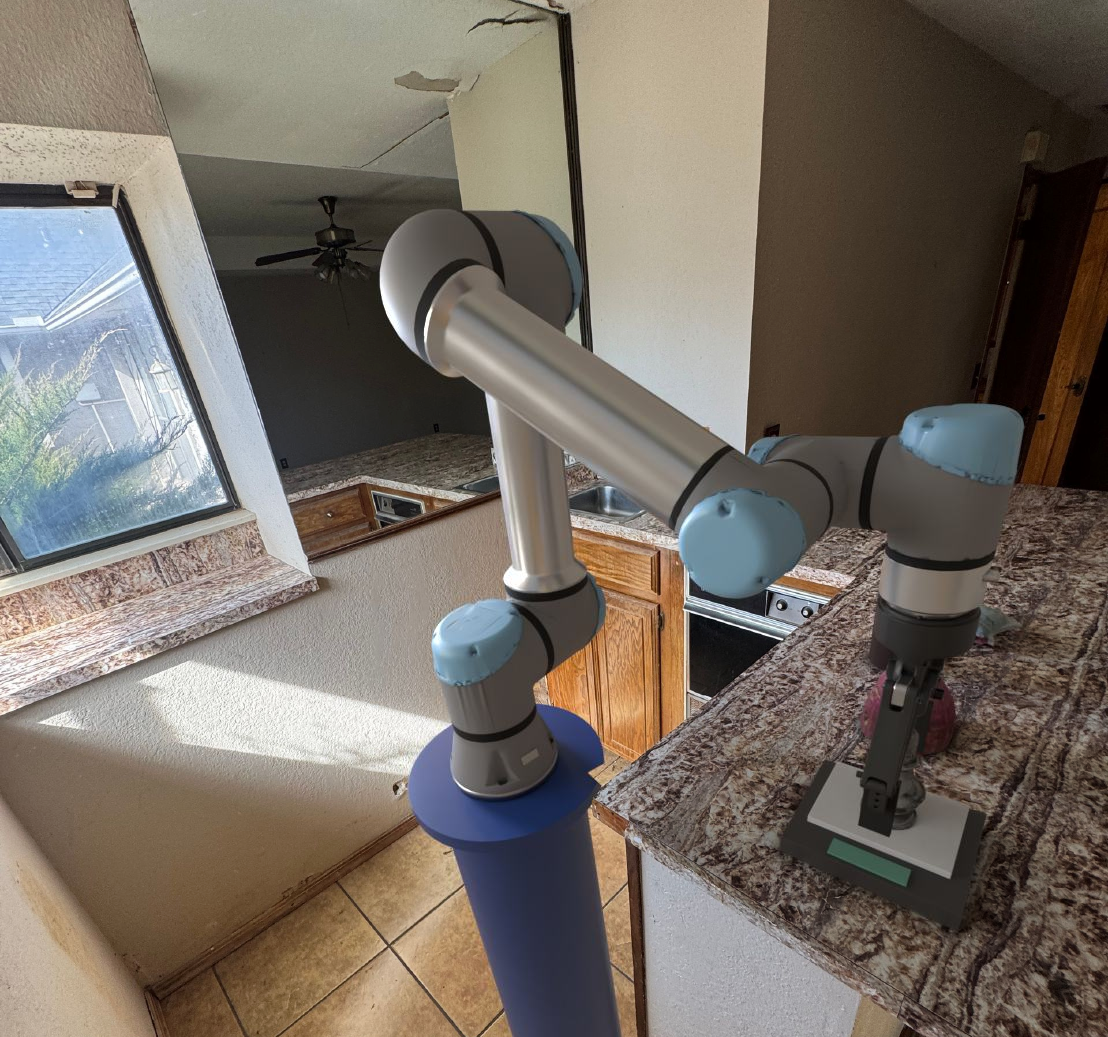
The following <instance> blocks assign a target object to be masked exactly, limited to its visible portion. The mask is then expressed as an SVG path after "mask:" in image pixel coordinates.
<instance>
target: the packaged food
mask: <svg viewBox="0 0 1108 1037" xmlns="http://www.w3.org/2000/svg"><path fill="white" fill-rule="evenodd" d="M979 607H980V609H981V616H980V620H979V624H978V628H977V632H976V637H975V641H974V644H979V645H984V644H989V645H991V646H993V647H994V645H995V637H994V636H997V635H998V634H1001V633H1004V632H1006V631H1009V630H1013V629H1014V628H1017V629H1019V628H1023V624H1022V623H1021V622H1020V621H1017V619H1015V618H1014V617H1012V616H1007V615H1006V613H1005V612H1004V611H1001V610H999V609H996V608H993V607H991V606H987V605H983V604H981V605H980V606H979Z"/></svg>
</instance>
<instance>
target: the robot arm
mask: <svg viewBox="0 0 1108 1037" xmlns="http://www.w3.org/2000/svg"><path fill="white" fill-rule="evenodd" d="M581 268H582V267H581V264H580V260H579V256H578V254H577V252H576V250H575V246H574V245H573V243H572V241H571V239H570V238H569V237H568V235H567V234H566V232H565V231H563V230H562V229H561V228H560V226H558V224H557V223H556V222H554V221H553V220H551V219H549V218H548V217H546V216H543V215H540V214H535V213H528V212H527V211H523V210H519V209H513V210H481V209H480V210H478V209H477V210H473V209H472V210H470V209H468V210H465V209H464V210H463V209H451V208H433V209H429V210H425V211H422V212H420V213H419V212H418V213H417V214H415V215H412V216H410V217H409V218H408V219H406V220H405V221H404V222H403V223H402V224H401V225H399V227H398V228H397V229H396V230H395V232H394V233H393V234H392V236H391V237H390V239H389V240H388V242H387V244H386V247H385V249H384V252H383V255H382V259H381V264H380V270H379V289H380V294H381V301H382V305H383V307H384V310H385V313H386V315H387V318H388V320H389V322H390V324H391V325H392V327H393V329H394V330H395V332H396V333H397V335H398V337H399V338H400V339H401V341H402V342H404V344H405V345H406V346H407V347H408V348H409V349H410V350H411V352H413V353H414V354H415V355H416V356H417V357H418V358H420V359H421V360H422V361H423V362H424V363H425V364H427V365H429V366H430V367H432V368H433V369H434V370H435V371H437V372H439V373H440V374H441V375H443V376H446V377H448V378H461V377H464V378H466V379H467V380H468V381H469V382H471V383H472V384H474V385H475V386H476V387H477V388H479V389H480V390H482V391H483V392H484V396H485V401H486V408H487V413H488V419H489V420H488V421H489V426H490V432H491V439H492V445H493V450H494V457H495V464H496V469H497V475H498V476H497V477H498V481H499V483H498V484H499V488H500V495H501V502H502V507H503V514H504V520H505V527H506V532H507V538H508V544H509V551H510V558H511V565H510V566H509V568H508V569H507V570H506V571H505V573H504V575H503V584H504V589H505V596H506V599H500V598H485V599H479V600H477V601H476V602H475V603H471V602H469V603H466V604H464V605H462V606H460V607H458V608H456V609H454V610H453V611H451V612H450V613H449V614H446V616H445V617H444V618H443V619H442V620H440V622H439V623H438V625H437V626H436V627H435V629H434V631H433V634H432V637H431V651H432V652H431V653H432V657H433V669H434V671H435V673H436V675H437V677H438V680H439V683H440V687H441V690H442V695H443V698H444V701H445V705H446V708H447V712H448V715H449V719H450V722H451V725H452V726H453V730H454V732H453V745H452V753H451V758H450V766H451V773H452V776H453V780H454V782H455V785H456V786H457V788H458V789H459V790H460V791H461V792H462V793H464V794H465V795H467V796H468V797H470V798H473V799H476V800H480V801H486V802H502V801H508V800H513V799H517V798H520V797H522V796H525V795H527V794H529V793H531V792H533V791H535V790H536V789H538V788H539V787H540V786H542V785H543V784H544V783H545V782H546V781H547V780H548V779H549V778H550V777H551V776H552V774H553V773H554V771H555V769H556V767H557V764H558V757H559V756H558V749H557V743H556V741H555V738H554V736H553V734H552V732H551V730H550V729H549V727H548V726H547V724H546V722H545V721H544V719H543V718H542V716H541V715H540V713H539V711H538V710H537V706H536V704H537V702H536V701H537V700H536V695H535V690H534V687H535V685H536V684H537V683H538V682H539V681H541V680H542V679H543V678H545V677H546V676H547V675H549V674H550V673H551V672H553V671H554V670H555V669H556V668H558V667H559V666H560V665H562V664H563V663H565V662H566V661H567V660H569V659H570V658H571V657H572V656H574V655H575V654H577V653H578V652H580V651H582V650H583V649H584V648H585V647H587V646H588V645H589V644H590V643H591V642H592V640H593V639H594V638H595V637H597V635H598V634H599V633H600V631H601V630H602V628H603V627H604V624H605V620H606V616H607V601H606V596H605V593H604V590H603V589H602V586H601V585H599V586H598V584H596V583H597V579H596V578H595V576H594V575H593V574H592V573H590V572H589V571H588V568H587V567H588V566H587V565H586V564H585V562H584V561H582V560H580V559H579V558H578V557H577V556H575V547H574V537H573V528H572V526H573V525H572V517H571V516H572V515H571V507H570V497H569V487H568V486H569V485H568V477H567V466H566V457H565V453H567V455H570V456H571V457H572V458H574V459H575V460H576V461H577V462H579V463H581V464H582V465H583V466H584V467H586V468H587V469H588V470H590V471H591V472H592V473H594V474H595V475H597V476H598V477H599V478H600V479H602V480H604V481H605V482H606V483H607V484H609V485H610V486H611V487H613V488H614V489H616V490H617V491H618V492H620V493H621V494H622V495H624V496H625V497H626V498H628V499H629V500H630V501H632V502H633V503H634V504H636V505H637V506H638V507H640V508H641V509H643V510H644V511H645V512H647V513H648V514H649V515H651V516H652V517H653V518H654V519H656V520H657V521H659V522H660V523H662V524H663V525H664V526H665V527H667V528H668V529H669V530H671V531H672V532H674V533H675V534H676V535H677V536H678V540H677V545H678V546H677V547H678V555H679V558H680V560H681V564H683V565H684V568H685V569H686V570H687V572H688V574H689V577H690V579H691V580H692V581H693V582H694V583H695V584H697V586H698V587H700V589H703V590H704V591H706V592H707V593H709V594H711V595H714V596H717V597H721V598H726V599H746V598H749V597H752V596H756V595H759V594H760V593H762V592H763V591H766V590H767V589H768V588H769V587H770V586H771V585H773V584H774V583H776V582H777V581H778V580H780V579H781V578H783V577H784V576H785V575H786V574H787V573H790V572H792V571H793V570H794V568H796V567H797V565H798V564H799V563H800V562H801V560H802V558H803V556H804V555H805V554H806V553H807V552H808V551H809V549H810V548H812V547H813V545H814V544H816V543H817V542H818V541H819V540H820V539H822V537H823V536H824V535H825V534H826V533H827V532H828V531H829V530H830V529H831V528H841V529H842V528H843V529H853V530H864V531H883V532H886V542H885V547H884V551H883V558H882V564H881V570H880V575H881V576H879V582H880V583H878V589H879V594H880V595H881V596H880V597H879V599H878V602H877V601H876V603H877V608H876V607H875V610H876V615H875V614H874V617H875V622H874V621H873V624H874V629H873V628H872V631H873V630H874V635H875V637H876V639H877V640H878V641H879V642H880V643H881V644H882V645H883V646H885V647H886V648H889V649H890V650H891V651H893V652H894V659H889V661H888V665H887V668H886V672H885V674H886V676H887V679H886V680H885V682H883V685H882V688H883V692H882V697H881V702H880V707H879V711H878V715H877V719H876V723H875V727H874V731H873V735H872V739H871V740H870V744H869V746H868V752H867V756H866V760H865V763H864V768H863V770H864V771H863V772H862V771H858V770H857V772H856V777H858V778H860V787H862V788H864V791H863V797H862V803H861V809H860V815H859V822H858V826H861V827H863V828H866V829H868V830H871V831H874V832H876V833H879V834H881V835H884V836H886V837H890V835H891V832H892V827H893V822H894V817H895V812H896V807H897V802H898V797H899V792H900V788H901V783H902V781H901V780H899V779H900V775H901V772H902V768H903V765H904V761H905V758H906V754H907V751H908V747H909V744H910V740H911V737H912V733H913V730H914V729H915V730H916V731H917V733H918V735H919V741H918V746H917V751H916V752H917V753H921V754H922V752H923V750H924V745H925V741H926V736H927V732H928V727H929V722H930V718H931V713H932V709H933V704H934V701H930V700H929V698H932V699H936V700H941V701H942V699H943V695H944V691H945V690H943V689H939V688H936V686H937V685H938V683H939V682H940V681H941V678H942V672H943V670H944V668H945V664H946V661H947V659H949V660H950V659H952V658H957V657H960V656H962V655H964V654H966V653H968V652H969V651H970V650H971V649H972V648H973V646H974V644H975V642H974V641H975V637H976V632H977V628H978V624H979V620H980V616H981V609H980V607H979V606H980V605H983V603H984V600H985V596H986V592H987V587H988V583H990V584H991V583H997V582H999V581H1000V578H1001V574H1000V571H999V570H996V569H991V568H992V566H993V563H994V559H995V556H996V552H997V549H998V544H999V541H1000V536H1001V534H1002V529H1003V526H1004V522H1005V518H1006V515H1007V511H1008V507H1009V504H1010V499H1011V495H1012V492H1013V488H1014V485H1015V481H1016V476H1017V472H1018V464H1019V458H1020V452H1021V446H1022V441H1023V435H1024V430H1025V423H1024V420H1023V419H1024V418H1023V417H1022V416H1021V415H1020V413H1019V412H1018V411H1016V410H1015V409H1013V408H1010V407H1007V406H1005V405H1001V404H1000V405H999V404H991V403H955V404H952V405H951V404H950V405H935V406H929V407H923V408H920V409H918V410H914V411H913V412H911V413H909V415H907V417H906V418H905V419H904V421H903V426H902V429H901V430H900V431H899V433H898V434H894V435H893V434H892V435H890V436H842V435H839V436H837V435H804V434H801V433H791V434H789V435H787V436H785V435H784V436H767V437H763V438H760V439H758V440H756V442H754V443H753V444H752V446H750V448H749V451H748V454H745V453H743V452H741V451H740V450H738V449H737V448H735V447H734V446H732V445H731V444H729V443H728V441H725V440H724V439H723V438H721V437H719V436H718V435H716V434H715V433H713V432H711V431H710V430H709V429H707V428H706V427H704V426H703V425H701V424H700V423H698V422H697V421H695V420H694V419H693V418H691V417H689V416H688V415H687V414H685V413H683V412H681V411H680V410H678V408H676V407H675V406H673V405H671V404H669V403H668V402H667V401H665V400H664V399H662V397H659V396H658V395H656V394H655V393H653V392H652V391H650V390H649V389H647V388H645V387H644V386H643V385H641V384H640V383H638V382H637V381H635V380H634V379H632V378H631V377H629V376H628V375H627V374H625V373H623V372H622V371H620V370H619V369H618V368H616V367H614V366H613V365H612V364H610V363H608V362H607V361H605V360H604V359H603V358H601V357H599V356H598V355H596V354H595V353H593V352H592V351H590V350H589V349H587V348H586V347H585V346H583V345H582V344H581V343H578V342H577V341H576V340H574V339H572V338H571V337H570V336H568V335H567V331H566V330H567V329H566V327H567V326H568V325H569V324H570V323H571V322H572V320H573V319H574V318H575V315H576V310H577V309H578V308H580V303H581V300H582V294H583V293H582V292H583V276H582V269H581ZM940 676H941V677H940Z"/></svg>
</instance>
